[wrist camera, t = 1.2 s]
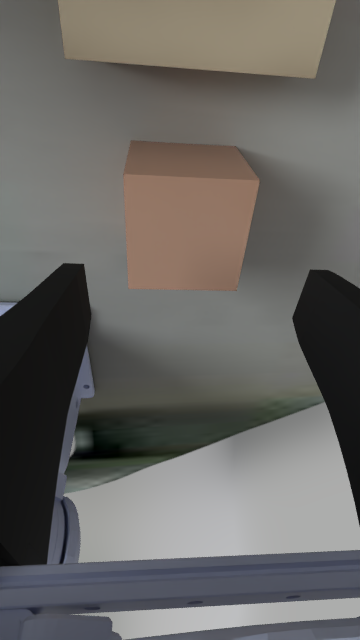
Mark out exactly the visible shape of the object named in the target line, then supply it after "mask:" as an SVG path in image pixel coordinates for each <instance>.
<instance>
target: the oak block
mask: <svg viewBox="0 0 360 640" xmlns="http://www.w3.org/2000/svg"><path fill="white" fill-rule="evenodd" d="M335 2H336V0H58V6H59V14H60V22H61V30H62V39H63V47H64V55H65V59H75V60H87V61H100V62H112V63H125V64H137V65H150V66H162V67H175V68H187V69H200V70H212V71H225V72H237V73H250V74H262V75H275V76H287V77H300V78H313V79H315V77H316V73H317V70H318V66H319V62H320V58H321V55H322V51H323V47H324V43H325V40H326V36H327V32H328V28H329V25H330V21H331V17H332V13H333V10H334V6H335Z"/></svg>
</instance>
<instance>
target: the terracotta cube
mask: <svg viewBox="0 0 360 640" xmlns="http://www.w3.org/2000/svg"><path fill="white" fill-rule="evenodd" d="M123 175H124V197H125V219H126V241H127V263H128V285H129V289H169V290H223V291H237V287H238V282H239V277H240V273H241V268H242V263H243V258H244V254H245V249H246V244H247V239H248V235H249V230H250V225H251V221H252V216H253V211H254V206H255V202H256V197H257V192H258V187H259V183H260V180H259V179H258V177H257V176H256V174H255V173H254V171H253V170H252V169H251V167H250V166H249V164H248V163H247V162H246V160H245V159H244V157H243V156H242V155H241V153H240V152H239V150H238V149H237V148H236V146H219V145H201V144H183V143H165V142H147V141H131V143H130V147H129V152H128V156H127V161H126V165H125V169H124V174H123Z"/></svg>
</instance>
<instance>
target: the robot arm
mask: <svg viewBox="0 0 360 640" xmlns="http://www.w3.org/2000/svg"><path fill="white" fill-rule="evenodd" d="M292 319H293V323H294V327H295V331H296V334H297V338H298V341H299V344H300V347H301V349H302V351H303V353H304V356H305V358H306V360H307V363H308V365H309V367H310V369H311V371H312V374H313V376H314V378H315V380H316V382H317V385H318V387H319V389H320V391H321V393H322V396H323V398H324V400H325V403H326V405H327V408H328V410H329V413H330V416H331V419H332V422H333V425H334V428H335V432H336V435H337V438H338V441H339V444H340V448H341V452H342V455H343V458H344V462H345V465H346V469H347V473H348V477H349V481H350V485H351V489H352V493H353V497H354V501H355V506H356V511H357V515H358V520H359V525H360V289H359V288H358V287H356V286H355V285H353V284H352V283H350V282H348V281H347V280H345V279H344V278H342V277H340V276H338V275H337V274H335V273H333V272H331V271H329V270H310V271H309V274H308V277H307V280H306V282H305V285H304V288H303V290H302V293H301V296H300V298H299V301H298V304H297V307H296V309H295V312H294V315H293V317H292ZM90 321H91V310H90V303H89V296H88V289H87V282H86V275H85V268H84V264H69V263H63V264H62V265H61V266H60V267H59V268H58V269H56V270H55V271H54V272H53V273H52V274H51V275H50V276H49V277H47V278H46V279H45V280H44V281H43V282H42V283H41V284H40V285H38V286H37V287H36V288H35V289H34V290H33V291H31V292H30V293H29V294H28V295H27V296H26V297H24V298H23V299H22V300H21V301H19V302H18V303H12V302H0V640H122V638H121V636H120V635H119V634H118V633H115V632H113V631H112V621H111V619H110V618H109V617H100V616H85V615H69V614H82V613H99V612H118V611H135V610H151V609H169V608H185V607H186V608H187V607H202V606H203V607H204V606H220V605H238V604H255V603H272V602H290V601H307V600H324V599H342V598H358V597H360V550H351V551H328V552H309V553H308V552H307V553H285V554H265V555H241V556H221V557H197V558H176V559H154V560H133V561H110V562H88V563H78V560H79V553H80V527H79V519H78V513H77V510H76V507H75V505H74V503H73V502H72V501H71V500H70V499H69V498H68V497H64V496H63V495H64V490H65V485H66V480H67V476H66V475H64V472H65V470H66V467H67V464H68V461H69V456H70V451H71V446H72V441H73V436H74V432H75V427H76V422H77V417H78V412H79V407H80V402H81V398H91V397H93V396H94V393H95V389H94V383H93V377H92V371H91V365H90V359H89V353H88V347H87V342H88V336H89V329H90ZM126 640H360V617H357V618H346V619H331V620H315V621H300V622H287V623H276V624H265V625H252V626H242V627H233V628H224V629H214V630H205V631H195V632H187V633H178V634H170V635H161V636H152V637H144V638H135V639H126Z"/></svg>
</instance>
